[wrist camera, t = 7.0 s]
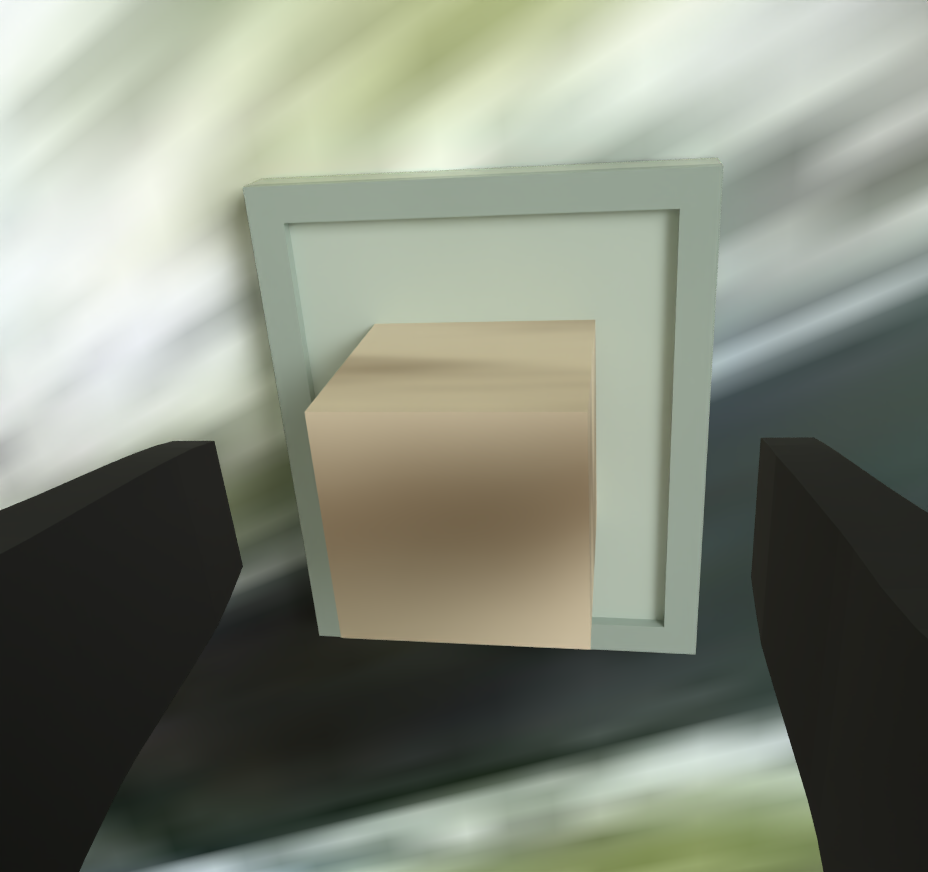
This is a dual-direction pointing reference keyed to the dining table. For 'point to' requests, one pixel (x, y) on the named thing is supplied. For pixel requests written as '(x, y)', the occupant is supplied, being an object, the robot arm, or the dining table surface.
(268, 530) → the dining table surface
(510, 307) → the grey green picture frame
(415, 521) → the maple cube
